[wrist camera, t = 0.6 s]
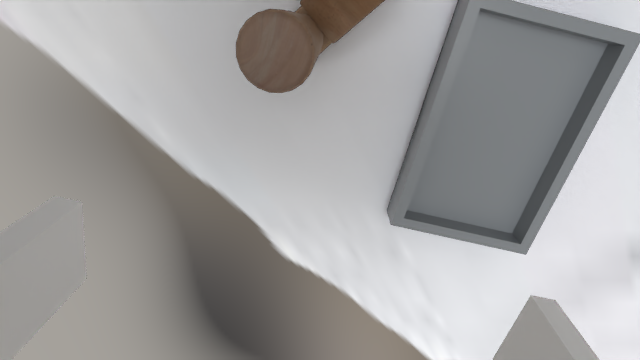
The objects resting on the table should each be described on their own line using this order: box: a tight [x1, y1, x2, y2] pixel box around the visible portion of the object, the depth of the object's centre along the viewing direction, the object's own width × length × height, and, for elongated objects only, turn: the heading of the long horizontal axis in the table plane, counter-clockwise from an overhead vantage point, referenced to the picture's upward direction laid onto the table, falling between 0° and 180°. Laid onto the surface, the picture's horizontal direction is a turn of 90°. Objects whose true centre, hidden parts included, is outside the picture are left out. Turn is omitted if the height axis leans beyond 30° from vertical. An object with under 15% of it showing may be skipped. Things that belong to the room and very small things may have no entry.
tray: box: [387, 0, 640, 255], centre depth 34 cm, size 21×14×3 cm, turn 167°
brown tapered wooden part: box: [236, 0, 385, 93], centre depth 24 cm, size 4×11×18 cm, turn 132°
